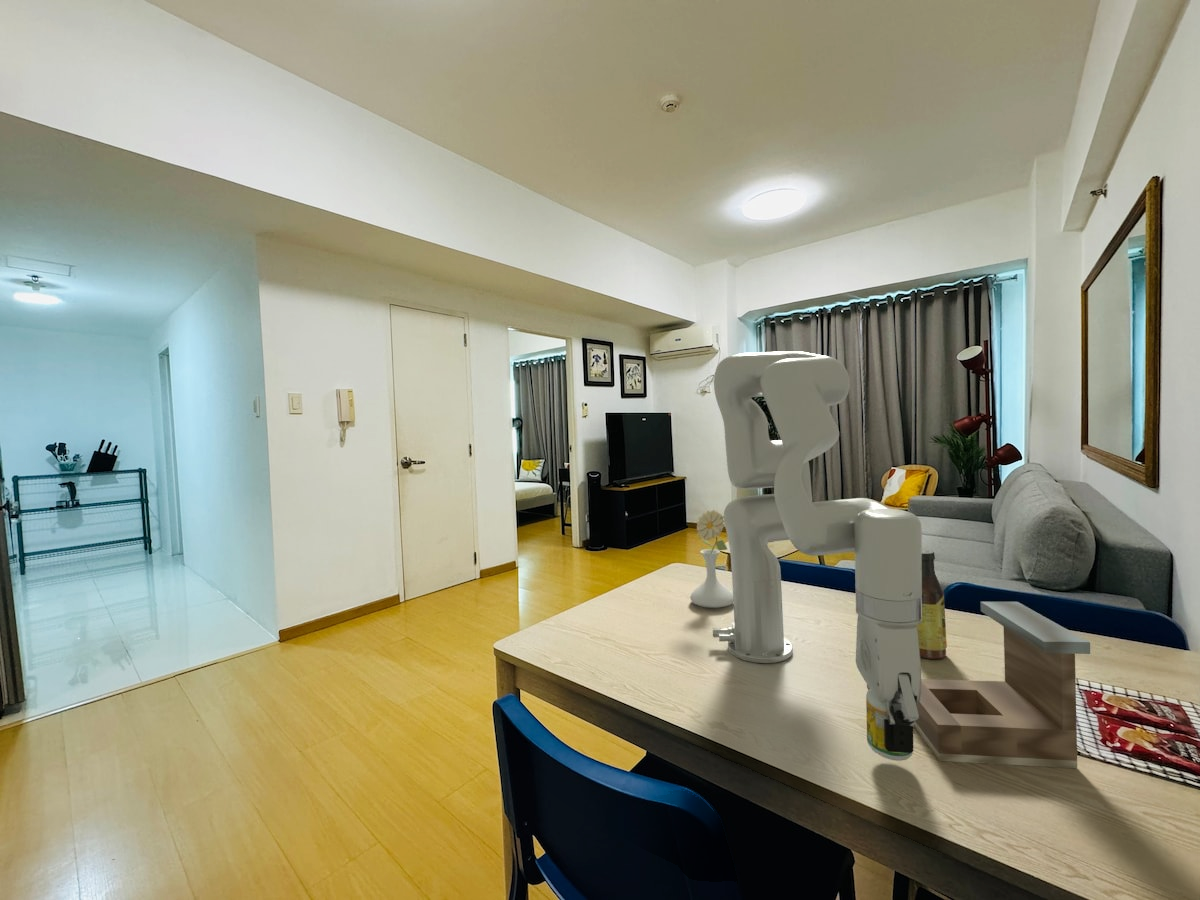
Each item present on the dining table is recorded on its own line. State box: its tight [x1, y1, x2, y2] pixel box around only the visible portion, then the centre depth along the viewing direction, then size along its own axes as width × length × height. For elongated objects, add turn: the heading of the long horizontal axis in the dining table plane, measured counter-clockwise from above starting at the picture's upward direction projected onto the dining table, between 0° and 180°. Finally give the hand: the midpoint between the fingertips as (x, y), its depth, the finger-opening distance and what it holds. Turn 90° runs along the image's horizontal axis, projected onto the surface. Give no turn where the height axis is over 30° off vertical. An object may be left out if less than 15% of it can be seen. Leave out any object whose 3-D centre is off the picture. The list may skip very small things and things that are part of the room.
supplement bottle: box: [865, 689, 914, 762], centre depth 66 cm, size 5×5×10 cm
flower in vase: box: [689, 509, 734, 609], centre depth 127 cm, size 13×11×25 cm
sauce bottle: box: [917, 548, 948, 660], centre depth 95 cm, size 7×6×20 cm
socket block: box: [913, 601, 1091, 769], centre depth 70 cm, size 17×14×17 cm
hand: (889, 733), depth 66 cm, fingers closed on supplement bottle, 5 cm apart
